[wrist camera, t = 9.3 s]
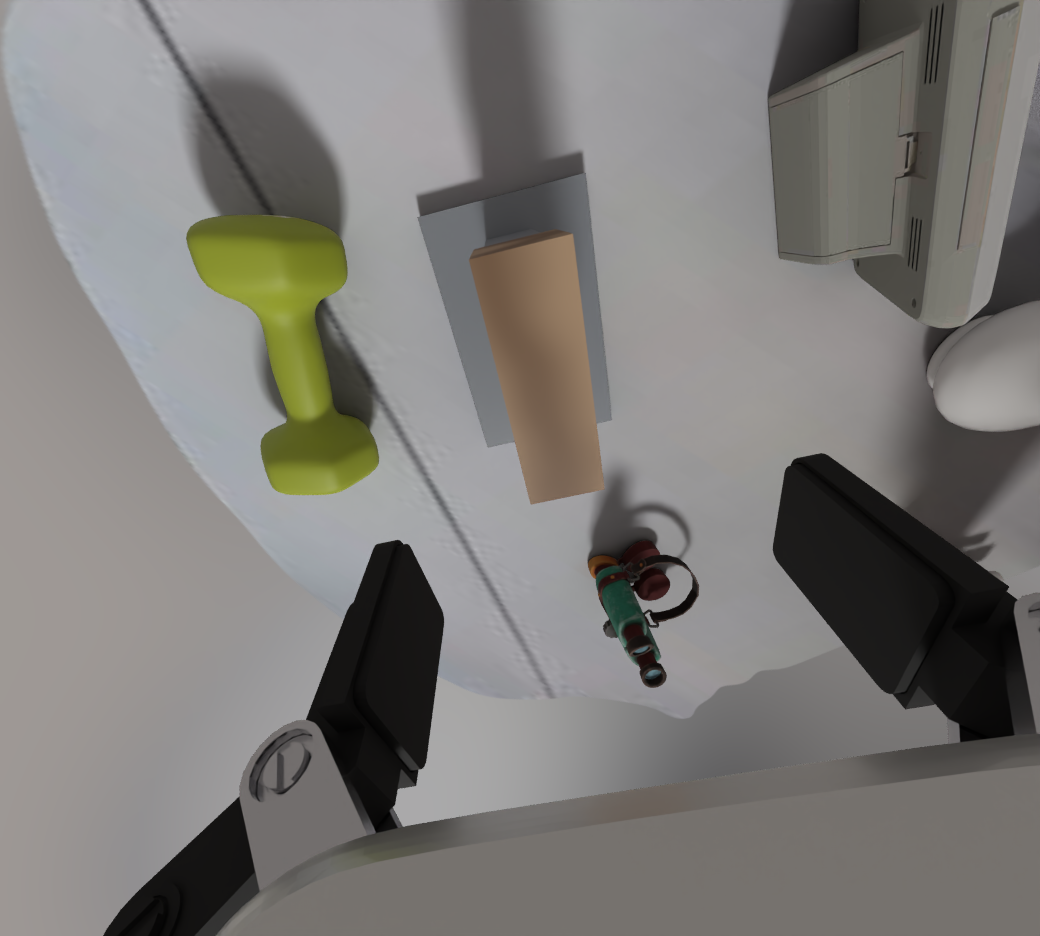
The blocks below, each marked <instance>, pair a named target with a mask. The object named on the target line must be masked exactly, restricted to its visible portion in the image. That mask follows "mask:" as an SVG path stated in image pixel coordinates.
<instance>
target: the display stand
mask: <svg viewBox="0 0 1040 936" xmlns="http://www.w3.org/2000/svg"><path fill="white" fill-rule="evenodd" d="M418 221H419V224H420V227H421V230H422V234H423V237H424V240H425V243H426V247H427V250H428V253H429V257H430V260H431V263H432V266H433V270H434V273H435V276H436V279H437V283H438V286H439V289H440V293H441V296H442V299H443V302H444V306H445V309H446V312H447V316H448V319H449V322H450V325H451V329H452V332H453V335H454V338H455V342H456V345H457V348H458V352H459V355H460V358H461V361H462V365H463V368H464V371H465V374H466V378H467V381H468V384H469V388H470V391H471V394H472V397H473V401H474V404H475V407H476V411H477V414H478V417H479V420H480V424H481V427H482V430H483V433H484V437H485V440H486V443H487V447H493V446H497V445H502V444H506V443H511V442H515V440H514V436H513V432H512V428H511V424H510V420H509V417H508V413H507V409H506V405H505V401H504V397H503V393H502V389H501V385H500V381H499V377H498V373H497V369H496V365H495V361H494V357H493V353H492V349H491V345H490V342H489V338H488V334H487V330H486V326H485V322H484V318H483V314H482V310H481V306H480V302H479V298H478V294H477V290H476V286H475V282H474V278H473V274H472V270H471V267H470V263H469V258H470V256H471V254H472V252H473V250H474V249H478V248H481V247H485V246H489V245H493V244H497V243H501V242H505V241H509V240H513V239H517V238H521V237H525V236H529V235H533V234H537V233H541V232H545V231H549V230H553V229H557V230H561V231H565V232H569V233H572V234H573V238H574V246H575V254H576V262H577V270H578V278H579V286H580V295H581V303H582V311H583V319H584V327H585V335H586V343H587V351H588V359H589V367H590V375H591V384H592V392H593V400H594V408H595V416H596V423H601V422H605V421H610V420H612V417H611V407H610V398H609V389H608V379H607V370H606V361H605V351H604V342H603V332H602V323H601V314H600V304H599V295H598V285H597V276H596V267H595V257H594V248H593V239H592V229H591V220H590V210H589V201H588V192H587V182H586V173H582V174H578V175H575V176H571V177H567V178H563V179H560V180H556V181H552V182H548V183H545V184H541V185H537V186H533V187H529V188H526V189H522V190H518V191H514V192H511V193H507V194H503V195H499V196H496V197H492V198H488V199H484V200H481V201H477V202H473V203H469V204H466V205H462V206H458V207H454V208H451V209H447V210H443V211H439V212H435V213H432V214H428V215H424V216H420V217H418Z"/></svg>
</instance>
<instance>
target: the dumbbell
mask: <svg viewBox="0 0 1040 936" xmlns="http://www.w3.org/2000/svg"><path fill="white" fill-rule="evenodd" d="M186 240H187V244H188V248H189V251H190V254H191V256H192V259H193V262H194V265H195V267H196V270H197V272H198V274H199V276H200V278H201V279H202V280H203V282H204V283H205V284H206V285H207V286H208V287H210V288H211V289H212V290H214V291H215V292H217V293H219V294H221V295H224V296H226V297H228V298H231V299H233V300H236V301H238V302H241V303H242V304H244V305H246V306H248V307H249V308H250V309H252V310H253V312H254V313H255V314H256V315H257V316H258V318H259V320H260V322H261V324H262V328H263V331H264V336H265V341H266V345H267V350H268V354H269V359H270V363H271V367H272V371H273V374H274V378H275V380H276V383H277V386H278V389H279V391H280V394H281V397H282V400H283V402H284V405H285V408H286V411H287V421H286V423H285V424H282V425H280V426H278V427H276V428H274V429H272V430H270V431H269V432H267V433H266V434H265V435H264V437H263V438H262V440H261V455H262V460H263V464H264V467H265V470H266V473H267V476H268V479H269V481H270V483H271V485H272V487H273V488H274V489H275V490H276V491H278V492H280V493H284V494H289V495H326V494H333V493H338V492H340V491H343V490H345V489H347V488H348V487H350V486H352V485H354V484H355V483H357V482H358V481H360V480H361V479H363V478H364V477H366V476H367V475H369V474H370V473H371V472H372V471H374V470H375V469H376V467H377V466H378V464H379V455H378V449H377V445H376V442H375V439H374V437H373V435H372V434H371V432H370V431H369V429H368V428H367V426H366V425H365V424H364V423H363V422H362V421H360V420H359V419H357V418H355V417H352V416H348V415H341V414H339V413H338V412H337V411H336V409H335V407H334V404H333V398H332V390H331V385H330V380H329V374H328V369H327V364H326V360H325V356H324V352H323V348H322V344H321V340H320V336H319V333H318V329H317V326H316V321H315V310H316V307H317V305H318V303H319V302H320V301H321V300H322V299H323V298H325V297H327V296H329V295H331V294H333V293H335V292H337V291H338V290H339V289H340V288H342V286H343V285H344V284H345V282H346V279H347V261H346V255H345V249H344V246H343V242H342V241H341V239H340V237H339V236H338V235H337V234H336V233H335V232H334V231H332V230H330V229H329V228H327V227H325V226H322V225H320V224H317V223H314V222H311V221H308V220H304V219H300V218H295V217H288V216H277V215H226V216H218V217H212V218H207V219H204V220H201V221H199V222H197V223H195V224H194V225H192V226H191V227H190V229H189V230H188V232H187V238H186Z"/></svg>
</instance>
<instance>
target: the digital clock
mask: <svg viewBox="0 0 1040 936" xmlns="http://www.w3.org/2000/svg"><path fill="white" fill-rule="evenodd" d="M1039 61H1040V0H860V3H859V36H858V51H857V52H855V53H853V54H851V55H849V56H847V57H846V58H844V59H842V60H840V61H838V62H836V63H834V64H832V65H830V66H828V67H826V68H824V69H822V70H820V71H818V72H816V73H814V74H812V75H810V76H808V77H806V78H804V79H803V80H801V81H799V82H797V83H795V84H793V85H791V86H789V87H787V88H785V89H783V90H781V91H779V92H777V93H775V94H773V95H771V96H770V97H769V98H768V104H769V119H770V133H771V148H772V162H773V176H774V191H775V205H776V220H777V234H778V248H779V258H780V259H783V260H789V261H795V262H801V263H808V264H815V265H827V264H833V263H837V262H841V261H844V260H848V259H854V268H855V271H856V273H857V274H858V275H859V276H860V277H861V278H862V279H863V280H864V281H866V282H867V283H868V284H869V285H871V286H872V287H873V288H875V289H876V290H877V291H878V292H880V293H881V294H882V295H883V296H885V297H886V298H887V299H888V300H890V301H891V302H892V303H894V304H895V305H896V306H897V307H899V308H900V309H901V310H902V311H904V312H905V313H906V314H908V315H909V316H910V317H912V318H913V319H915V320H916V321H918V322H921V323H923V324H925V325H929V326H933V327H937V328H954V327H958V326H962V325H964V324H966V323H967V322H968V321H969V320H970V319H971V318H972V317H973V316H974V315H976V314H977V313H978V312H979V311H980V310H981V309H982V308H983V307H984V306H985V305H986V304H987V303H988V302H989V300H990V297H991V294H992V290H993V286H994V282H995V277H996V273H997V268H998V263H999V259H1000V254H1001V249H1002V244H1003V239H1004V234H1005V229H1006V224H1007V219H1008V214H1009V209H1010V204H1011V200H1012V195H1013V190H1014V185H1015V180H1016V175H1017V170H1018V165H1019V160H1020V155H1021V150H1022V145H1023V140H1024V135H1025V130H1026V125H1027V120H1028V115H1029V110H1030V105H1031V100H1032V95H1033V91H1034V86H1035V81H1036V76H1037V71H1038V66H1039ZM770 107H771V108H770Z"/></svg>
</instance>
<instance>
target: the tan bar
mask: <svg viewBox="0 0 1040 936" xmlns="http://www.w3.org/2000/svg"><path fill="white" fill-rule="evenodd" d="M469 263H470V267H471V270H472V274H473V278H474V282H475V286H476V290H477V294H478V298H479V302H480V306H481V310H482V314H483V318H484V322H485V326H486V330H487V334H488V338H489V342H490V345H491V349H492V353H493V357H494V361H495V365H496V369H497V373H498V377H499V381H500V385H501V389H502V393H503V397H504V401H505V405H506V409H507V413H508V417H509V420H510V424H511V428H512V432H513V436H514V440H515V444H516V448H517V452H518V456H519V460H520V464H521V468H522V472H523V476H524V480H525V484H526V488H527V492H528V495H529V499H530V503H531V504H536V503H540V502H545V501H550V500H555V499H560V498H565V497H570V496H574V495H579V494H584V493H589V492H594V491H599V490H604V481H603V473H602V465H601V456H600V448H599V440H598V432H597V424H596V416H595V408H594V400H593V392H592V384H591V375H590V367H589V359H588V351H587V343H586V335H585V327H584V319H583V311H582V303H581V295H580V286H579V278H578V270H577V262H576V254H575V246H574V238H573V234H572V233H569V232H565V231H561V230H557V229H553V230H549V231H545V232H541V233H537V234H533V235H529V236H525V237H521V238H517V239H513V240H509V241H505V242H501V243H497V244H493V245H489V246H485V247H481V248H478V249H474V250H473V252H472V254H471V256H470V258H469Z"/></svg>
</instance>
